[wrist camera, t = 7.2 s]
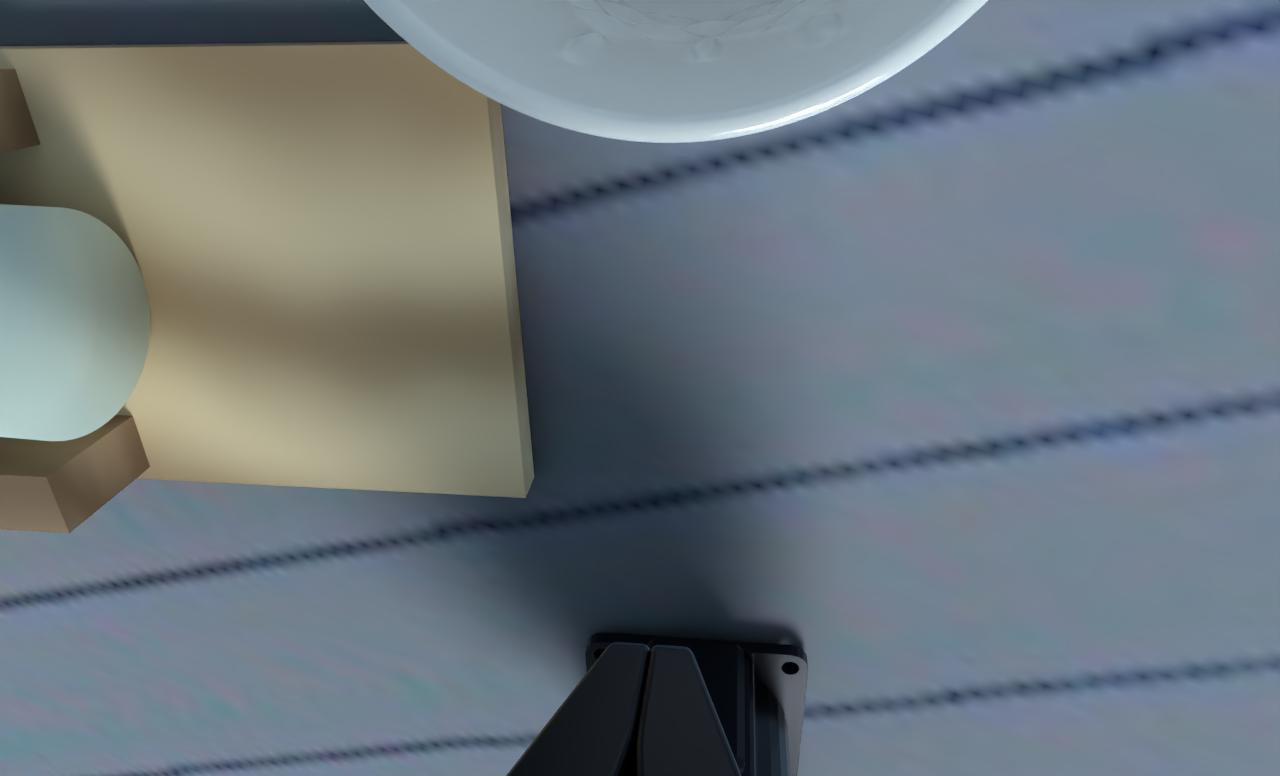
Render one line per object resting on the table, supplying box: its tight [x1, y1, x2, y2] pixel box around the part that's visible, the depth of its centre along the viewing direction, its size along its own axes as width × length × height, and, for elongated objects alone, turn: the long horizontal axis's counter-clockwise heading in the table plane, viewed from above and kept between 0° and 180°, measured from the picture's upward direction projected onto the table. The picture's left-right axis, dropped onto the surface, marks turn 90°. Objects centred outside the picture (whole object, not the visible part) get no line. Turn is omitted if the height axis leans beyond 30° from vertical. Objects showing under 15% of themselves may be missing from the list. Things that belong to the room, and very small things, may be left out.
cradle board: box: [0, 41, 534, 533], centre depth 19 cm, size 11×23×4 cm, turn 91°
